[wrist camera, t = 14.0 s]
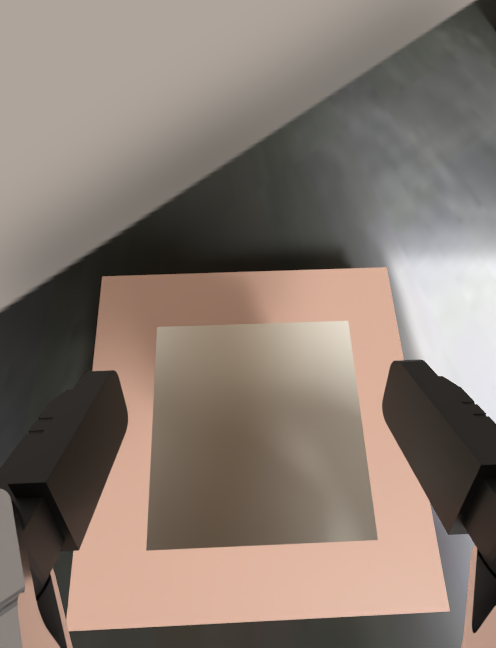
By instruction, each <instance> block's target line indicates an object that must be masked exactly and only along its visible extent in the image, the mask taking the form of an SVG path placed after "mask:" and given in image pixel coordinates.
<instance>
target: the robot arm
mask: <svg viewBox="0 0 496 648" xmlns="http://www.w3.org/2000/svg"><path fill="white" fill-rule="evenodd" d="M382 412H383V416H384V420H385V422H386V424H387V426H388V428H389V429H390V431H391V433H392V435H393V437H394V438H395V440H396V442H397V444H398V445H399V447H400V449H401V451H402V453H403V454H404V456H405V458H406V460H407V462H408V463H409V465H410V467H411V469H412V471H413V472H414V474H415V476H416V478H417V479H418V481H419V483H420V485H421V487H422V488H423V490H424V492H425V494H426V496H427V497H428V499H429V501H430V503H431V505H432V506H433V508H434V510H435V512H436V514H437V515H438V517H439V519H440V521H441V522H442V524H443V526H444V528H445V530H446V531H447V533H448V535H453V534H469V535H470V537H471V539H472V540H473V542H474V544H475V545H474V547H473V549H472V552H471V560H470V571H469V582H468V593H467V605H466V616H465V627H464V636H463V642H462V647H461V648H496V424H495V423H494V421H493V420H492V419H491V418H490V417H486V413H485V412H484V411H483V410H482V409H481V408H480V407H479V406H478V405H477V404H474V401H473V400H472V399H471V398H470V397H469V396H468V395H467V393H466V392H465V391H464V390H463V389H462V388H461V387H459V386H457V385H456V384H454V383H452V382H451V381H449V380H448V379H446V378H444V377H443V376H438V375H437V374H436V373H435V372H434V371H433V370H432V369H431V368H430V367H429V366H428V364H427V363H426V362H425V361H423V360H396V361H393V362H392V363H391V366H390V369H389V374H388V378H387V383H386V387H385V391H384V396H383V400H382ZM127 426H128V411H127V407H126V403H125V399H124V395H123V391H122V388H121V384H120V380H119V376H118V374H117V372H116V371H114V370H108V371H87V372H85V373H84V374H83V376H82V377H81V379H80V380H79V381H78V383H77V384H76V386H75V387H74V389H73V390H66V391H65V392H63V393H62V394H61V395H59V396H58V397H57V398H55V399H54V400H53V401H51V402H50V403H49V404H48V406H47V407H46V408H45V410H44V411H43V412H42V414H41V415H40V416H39V418H38V421H36V422H35V423H34V424H33V426H32V427H31V428H30V430H29V433H28V434H26V435H25V436H24V438H23V439H22V440H21V442H20V443H19V444H18V446H17V447H16V448H15V450H14V451H13V452H12V454H11V455H10V456H9V458H8V459H7V460H6V462H5V463H4V464H3V466H2V467H1V468H0V648H72V644H71V639H70V635H69V631H68V627H67V623H66V619H65V614H64V610H63V606H62V602H61V598H60V594H59V589H58V585H57V581H56V577H55V573H54V571H53V569H52V568H53V566H54V564H55V561H56V559H57V557H58V555H59V552H60V551H79V549H80V547H81V544H82V542H83V539H84V537H85V534H86V532H87V529H88V527H89V524H90V522H91V519H92V517H93V514H94V512H95V509H96V507H97V504H98V502H99V499H100V496H101V494H102V491H103V489H104V486H105V484H106V481H107V479H108V476H109V474H110V471H111V469H112V466H113V464H114V461H115V459H116V456H117V454H118V451H119V449H120V446H121V444H122V441H123V438H124V436H125V433H126V430H127Z"/></svg>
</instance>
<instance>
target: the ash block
mask: <svg viewBox="0 0 496 648" xmlns="http://www.w3.org/2000/svg"><path fill="white" fill-rule="evenodd" d="M369 540H378V537H377V530H376V522H375V515H374V507H373V500H372V493H371V485H370V478H369V470H368V463H367V456H366V448H365V441H364V434H363V426H362V419H361V411H360V404H359V397H358V389H357V382H356V374H355V367H354V360H353V352H352V345H351V338H350V330H349V323H348V321H323V322H293V323H263V324H232V325H202V326H172V327H157V340H156V361H155V381H154V402H153V422H152V443H151V464H150V484H149V505H148V525H147V546H146V551H150V550H172V549H193V548H215V547H237V546H259V545H281V544H303V543H325V542H347V541H369Z"/></svg>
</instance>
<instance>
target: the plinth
mask: <svg viewBox="0 0 496 648" xmlns="http://www.w3.org/2000/svg"><path fill="white" fill-rule="evenodd" d="M323 321H348V323H349V330H350V338H351V345H352V352H353V360H354V367H355V374H356V382H357V389H358V397H359V404H360V411H361V419H362V426H363V434H364V441H365V448H366V456H367V463H368V470H369V478H370V485H371V493H372V500H373V507H374V515H375V522H376V530H377V537H378V540H369V541H347V542H325V543H303V544H281V545H259V546H237V547H215V548H193V549H172V550H150V551H146V546H147V525H148V505H149V484H150V464H151V443H152V422H153V402H154V381H155V361H156V340H157V327H172V326H202V325H232V324H263V323H293V322H323ZM396 360H404V359H403V354H402V348H401V343H400V337H399V332H398V326H397V321H396V316H395V310H394V305H393V299H392V294H391V288H390V283H389V277H388V272H387V267H383V268H352V269H320V270H289V271H257V272H226V273H194V274H163V275H131V276H102V284H101V293H100V303H99V312H98V322H97V332H96V341H95V351H94V360H93V370H92V371H108V370H114V371H116V372H117V374H118V376H119V380H120V384H121V388H122V391H123V395H124V399H125V403H126V407H127V411H128V426H127V430H126V433H125V436H124V438H123V441H122V444H121V446H120V449H119V451H118V454H117V456H116V459H115V461H114V464H113V466H112V469H111V471H110V474H109V476H108V479H107V481H106V484H105V486H104V489H103V491H102V494H101V496H100V499H99V502H98V504H97V507H96V509H95V512H94V514H93V517H92V519H91V522H90V524H89V527H88V529H87V532H86V534H85V537H84V539H83V542H82V544H81V547H80V549H79V551H74V552H73V562H72V572H71V581H70V591H69V600H68V610H67V620H66V623H67V627H68V631H82V630H101V629H120V628H139V627H159V626H178V625H197V624H216V623H235V622H254V621H273V620H292V619H311V618H331V617H350V616H369V615H388V614H407V613H426V612H445V611H450V609H449V604H448V598H447V593H446V588H445V582H444V577H443V571H442V566H441V560H440V555H439V549H438V544H437V539H436V533H435V528H434V522H433V517H432V511H431V506H430V501H429V499H428V497H427V496H426V494H425V492H424V490H423V488H422V487H421V485H420V483H419V481H418V479H417V478H416V476H415V474H414V472H413V471H412V469H411V467H410V465H409V463H408V462H407V460H406V458H405V456H404V454H403V453H402V451H401V449H400V447H399V445H398V444H397V442H396V440H395V438H394V437H393V435H392V433H391V431H390V429H389V428H388V426H387V424H386V422H385V420H384V416H383V412H382V400H383V396H384V391H385V387H386V383H387V378H388V374H389V369H390V366H391V363H392V362H393V361H396Z"/></svg>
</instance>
